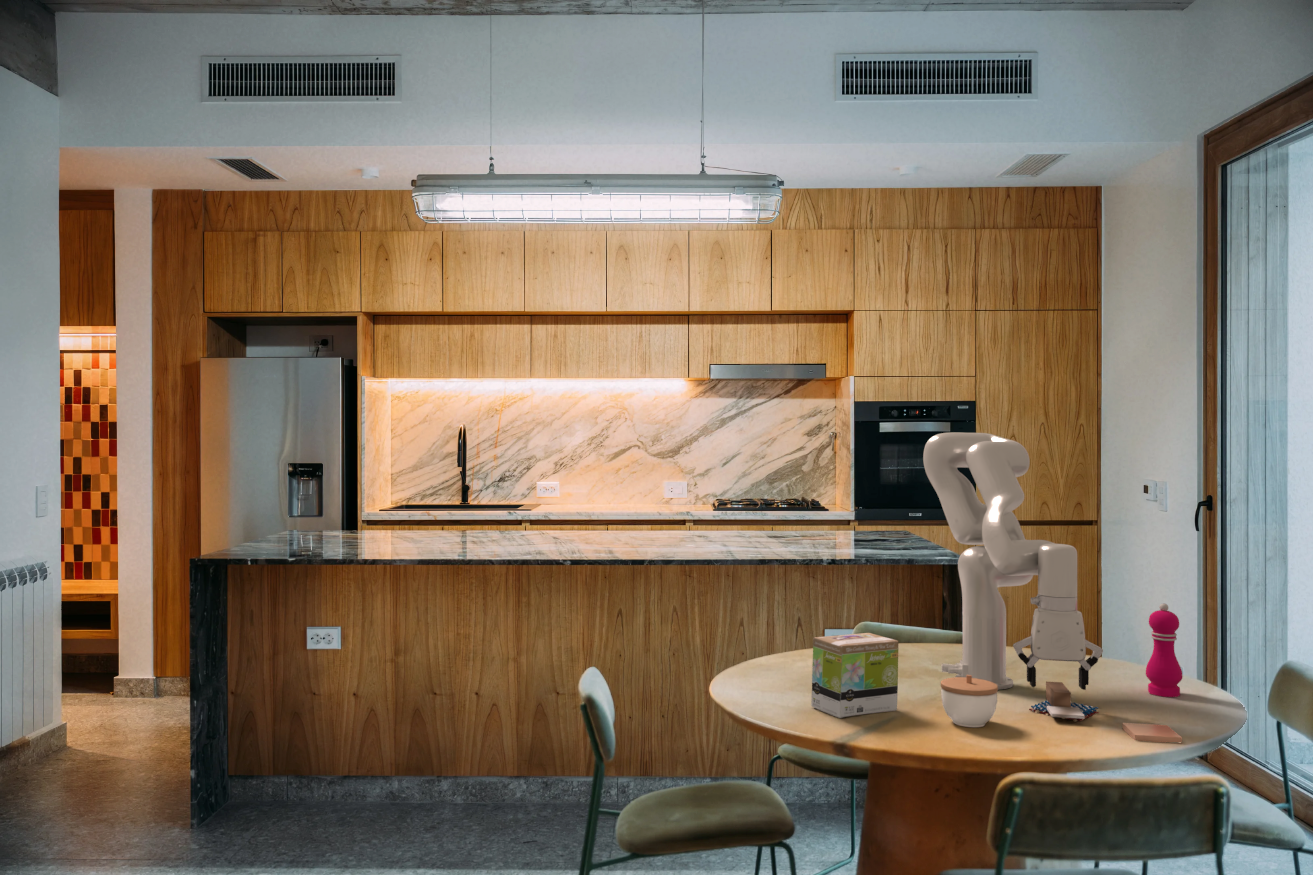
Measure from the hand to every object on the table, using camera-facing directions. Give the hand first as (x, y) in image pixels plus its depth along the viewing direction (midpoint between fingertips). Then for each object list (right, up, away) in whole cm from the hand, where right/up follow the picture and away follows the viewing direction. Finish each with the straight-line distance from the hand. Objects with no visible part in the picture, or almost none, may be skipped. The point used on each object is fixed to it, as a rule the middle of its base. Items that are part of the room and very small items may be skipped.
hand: (1057, 686), depth 197 cm
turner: (0, -4, -3) cm, 5 cm away
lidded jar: (-22, -5, -10) cm, 24 cm away
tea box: (-42, -5, 0) cm, 42 cm away
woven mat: (+1, -6, -1) cm, 6 cm away
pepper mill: (+30, -5, +14) cm, 33 cm away
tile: (+11, -4, -13) cm, 18 cm away
